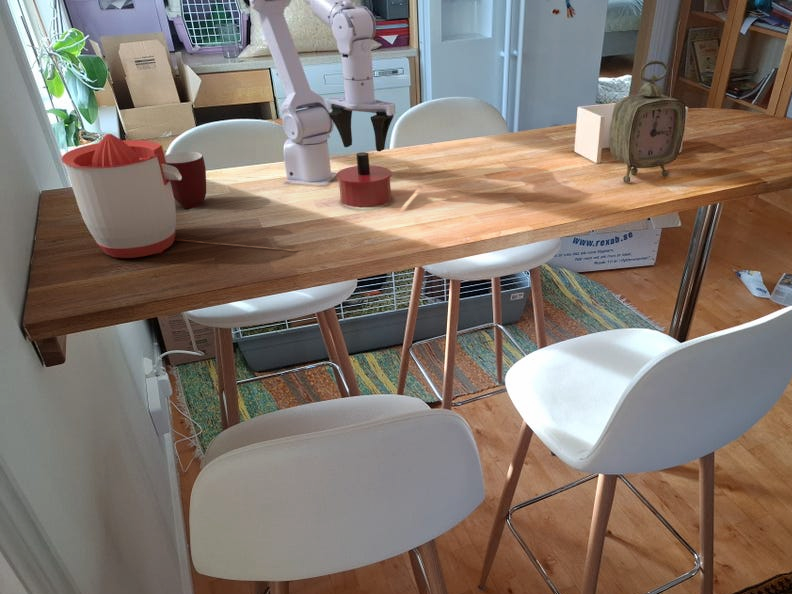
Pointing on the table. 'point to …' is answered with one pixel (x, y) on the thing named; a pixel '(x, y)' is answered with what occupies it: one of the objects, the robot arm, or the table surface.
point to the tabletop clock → (647, 127)
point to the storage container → (595, 130)
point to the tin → (365, 194)
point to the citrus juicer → (125, 195)
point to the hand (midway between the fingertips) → (364, 148)
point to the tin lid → (363, 172)
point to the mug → (188, 178)
